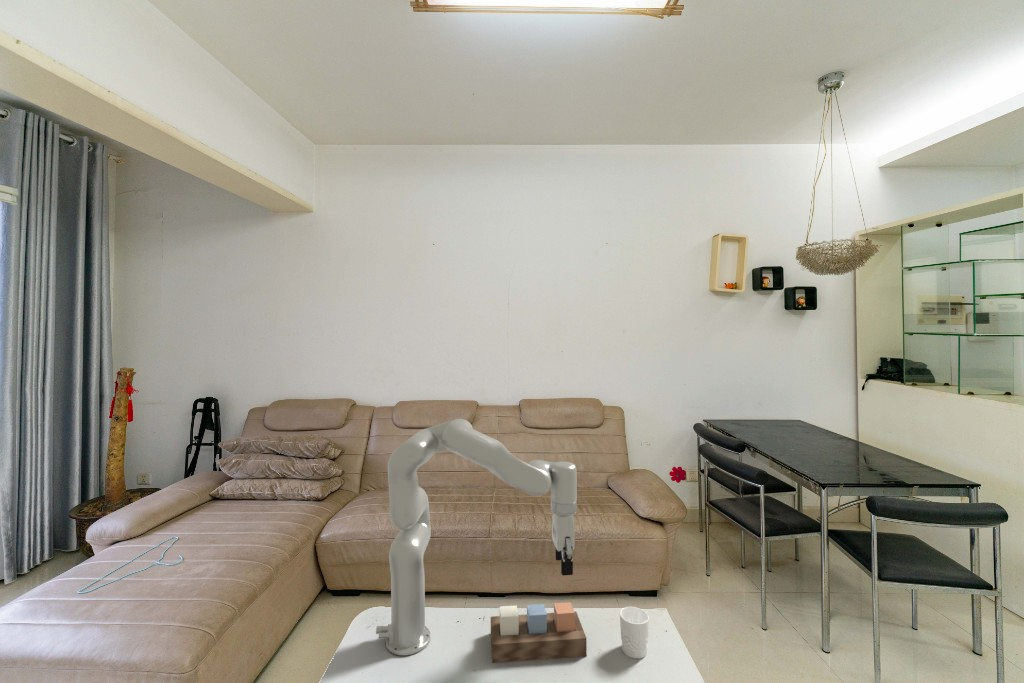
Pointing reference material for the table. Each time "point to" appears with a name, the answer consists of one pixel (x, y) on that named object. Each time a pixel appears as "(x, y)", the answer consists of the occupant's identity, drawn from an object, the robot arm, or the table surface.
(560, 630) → the peach block
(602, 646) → the table surface
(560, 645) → the brown long flat block
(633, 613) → the white cup
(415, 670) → the table surface
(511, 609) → the cream key
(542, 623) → the slate key
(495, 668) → the table surface
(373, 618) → the table surface
